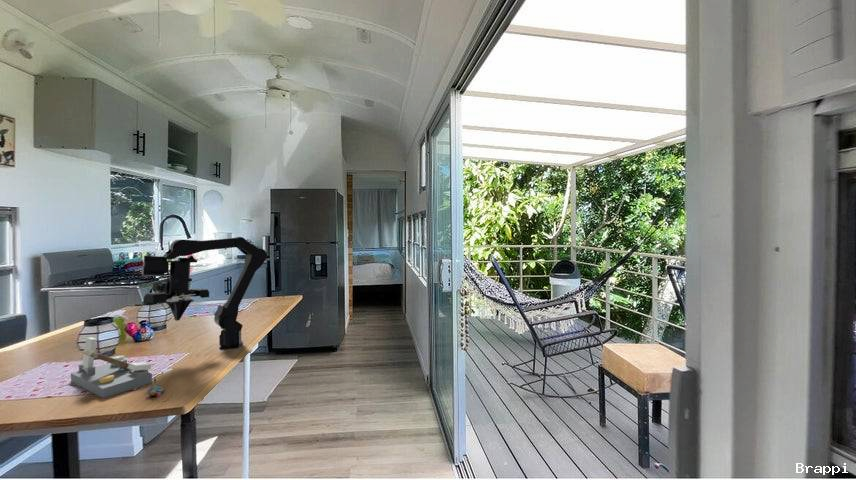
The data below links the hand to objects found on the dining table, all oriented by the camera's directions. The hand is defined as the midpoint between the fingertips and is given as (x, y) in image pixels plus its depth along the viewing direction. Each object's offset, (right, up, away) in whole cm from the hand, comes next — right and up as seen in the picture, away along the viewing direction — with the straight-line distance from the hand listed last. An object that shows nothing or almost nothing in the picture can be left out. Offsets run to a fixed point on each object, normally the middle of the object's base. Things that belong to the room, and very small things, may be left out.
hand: (177, 320), depth 121 cm
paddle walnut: (-3, -10, -16) cm, 19 cm away
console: (-5, -14, -19) cm, 24 cm away
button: (-10, -11, -13) cm, 19 cm away
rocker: (+3, -10, -19) cm, 22 cm away
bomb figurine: (+14, -14, -28) cm, 34 cm away
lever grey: (-13, -10, -18) cm, 25 cm away
